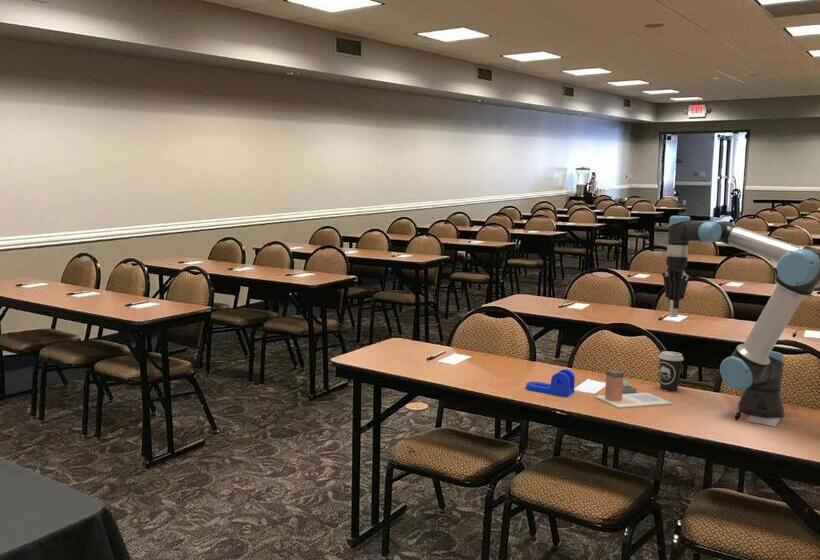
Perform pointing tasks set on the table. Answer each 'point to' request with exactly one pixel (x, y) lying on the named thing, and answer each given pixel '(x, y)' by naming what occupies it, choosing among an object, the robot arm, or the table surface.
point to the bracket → (555, 384)
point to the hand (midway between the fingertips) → (673, 316)
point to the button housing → (629, 390)
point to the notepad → (635, 400)
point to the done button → (625, 384)
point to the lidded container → (614, 385)
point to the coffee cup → (670, 370)
